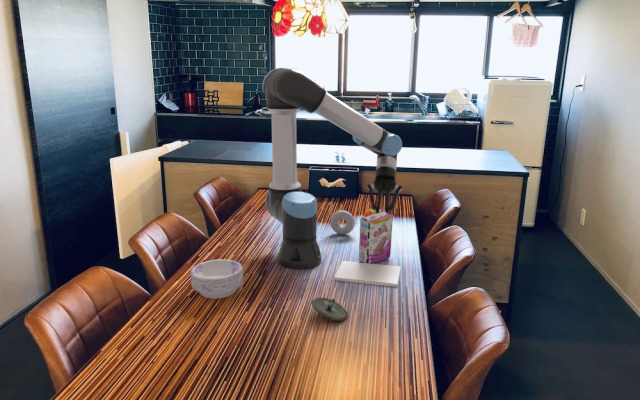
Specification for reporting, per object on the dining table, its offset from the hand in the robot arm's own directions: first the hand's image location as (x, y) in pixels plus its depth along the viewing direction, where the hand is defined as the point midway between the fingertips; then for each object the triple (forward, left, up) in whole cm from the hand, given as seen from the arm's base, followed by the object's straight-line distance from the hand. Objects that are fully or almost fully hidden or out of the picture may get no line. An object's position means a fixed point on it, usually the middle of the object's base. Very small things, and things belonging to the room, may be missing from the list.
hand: (381, 226), depth 180 cm
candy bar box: (-5, -3, -10) cm, 12 cm away
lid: (-43, -25, -11) cm, 51 cm away
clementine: (+21, +27, -11) cm, 36 cm away
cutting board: (-15, -11, -10) cm, 22 cm away
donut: (+3, +25, -11) cm, 27 cm away
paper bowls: (-61, +6, -11) cm, 62 cm away
